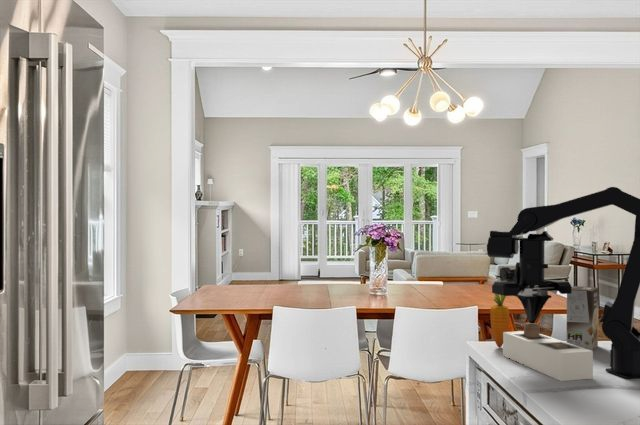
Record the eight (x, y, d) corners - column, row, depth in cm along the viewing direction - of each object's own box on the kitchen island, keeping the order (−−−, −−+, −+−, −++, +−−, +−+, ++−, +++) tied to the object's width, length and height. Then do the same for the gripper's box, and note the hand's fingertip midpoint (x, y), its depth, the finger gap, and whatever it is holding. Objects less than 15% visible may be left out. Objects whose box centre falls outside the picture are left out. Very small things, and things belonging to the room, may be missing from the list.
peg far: (542, 349, 134) (542, 325, 134) (529, 350, 133) (529, 325, 133) (533, 345, 137) (533, 322, 138) (520, 346, 137) (520, 322, 137)
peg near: (571, 372, 124) (571, 346, 124) (557, 373, 123) (557, 347, 123) (560, 368, 128) (560, 343, 128) (546, 369, 127) (546, 344, 127)
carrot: (511, 349, 146) (511, 293, 146) (492, 349, 146) (493, 293, 146) (505, 345, 151) (506, 290, 151) (487, 345, 151) (487, 290, 151)
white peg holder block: (592, 378, 121) (592, 351, 121) (561, 381, 119) (561, 353, 119) (530, 354, 142) (530, 330, 142) (503, 355, 140) (503, 332, 140)
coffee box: (592, 352, 144) (592, 290, 144) (565, 349, 148) (566, 288, 148) (598, 346, 151) (598, 287, 151) (573, 342, 155) (573, 285, 155)
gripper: (544, 256, 145) (544, 315, 145) (480, 257, 141) (480, 318, 141) (573, 259, 135) (573, 323, 135) (505, 260, 130) (505, 327, 130)
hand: (531, 323), depth 135 cm, fingers closed
